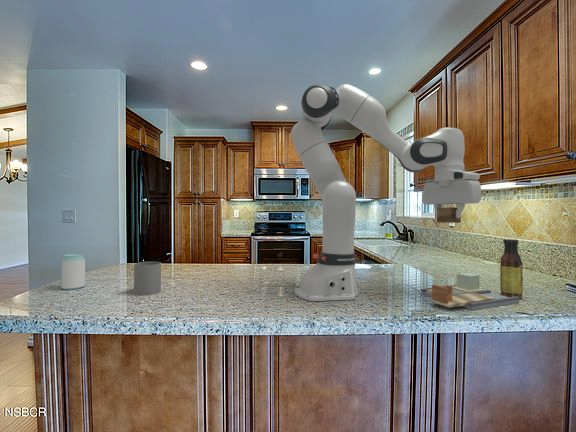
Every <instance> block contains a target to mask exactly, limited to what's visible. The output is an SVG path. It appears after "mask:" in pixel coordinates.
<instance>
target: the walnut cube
mask: <svg viewBox="0 0 576 432" xmlns="http://www.w3.org/2000/svg"><path fill="white" fill-rule="evenodd" d="M457 208H458V207H451V206H450V207H449V206H448V207H441V208H437V212H436V222H437V223H448V224H449V223H450V224H451V223H452V224H455V223H456V224H457V223H460V224H461V223H462V220H461V218H462V217H461V218H454V217H453V212H456V210H457Z"/></svg>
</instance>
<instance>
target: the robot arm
mask: <svg viewBox="0 0 576 432" xmlns="http://www.w3.org/2000/svg"><path fill="white" fill-rule="evenodd" d="M301 97H302V98H301V102H300V103H301V111H302V112H301V113H302V119H301V120H300V121H298V122H297V123H295V124H294V125H293V126H292V129H290V130H291V131H290V137H291V140H292V144H293V146H294V149H295V151H296V153H297V156H298V157H299V159H300V161H301V163H302V165H303V167H304V168H305V171H306V173H307V174H308V176H309V178H310V181H311V182H312V183H313V185H314V187H315V189H316V191H317V192H318V194H319V197H320V198H321V201H322V251H321V252H320V254H319V253H315V252H314V253H313V255H312V258H313V259H315V260H317V263H316V264H315V265H313V266H311V268H309V270H308V271H306V272H305V273H304V274H302V278H301V280H300V286H299V287H296V288H294V290H293V291H294V292H293V293H294V295H295V296H297V297H298V298H300V299H303V300H305V301H309V302H325V301H326V302H327V301H346V300H347V301H348V300H349V301H352V300H355V299H356V297H357V296H358V295H359V290H358V287H357V282H356V276H355V266H356V253H355V228H356V226H355V225H356V209H357V207H356V206H357V204H356V203H357V194H356V190H355V188H354V187H353V185H351V184H350V183H349V182H348V181H347V180H346V177H345V175H344V173H343V171H342V169H341V167H340V165H339V162H338V160H337V158H336V156H335V155H334V153H333V151H332V149H331V147H330V145H329V144H328V142H327V140H326V138H325V137H324V135H323V130H324V129H325V128H326V127H327V126H328V125H329V124H330V122H331V120H332V119H333V117H339V118H342V119H344V120H345V121H347V122H348V123H350V124H351V125H352V126H354V127H355V128H356V129H358V130H360V131H362V132H363V133H365V134H366V135H367V136H369V137H370V138H372V139H374V140H375V141H376V142H377V143H378V144H380V145H381V146H382V147H383V148H385V149H386V150H387V151H389V152H390V153H391V154H392V155H394V156H395V157H396V158H397V160H398V161H399V163H400V165H401V167H402V168H403V169H404V170H406V171H407V172H409V173H419V172H421V171H423V170H424V169H426V168H427V167H429V166H433V167H434V178H432V179H431V178H428V179H427V180H426V181H425V182H424V183H423V188H422V195H421V203H422V204H423V205H427V206H428V205H429V206H430V205H431V206H432V205H433V208H434V211H435V212H436V213H437V208H443V205H456V207H455V208H457V210H456V212H453V217H454V218H462V212H463V211H464V209H465V206H466V204H479V203H480V202H481V201H482V188H481V187H482V186H481V183H480V181H478V180H480V178H481V175H480V174H479V173H478V172H472V171H469V170H465V167H466V166H465V163H464V157H465V153H466V151H465V147H466V145H465V143H466V142H465V136H464V133H463V131H462V130H461V129H459V128H457V127H452V126H448V127H441V128H439V129H437V130H436V131H435V132H434V133H431V134H429V135H427V136H424V137H420V138H417V139H416V140H414V141H413V142H412V143H410V142H409V141H407V140H406V139H404V138H403V137H401V136H400V135H399V134H398V133H397V132H396V131H394V130H393V129H392V128H391V127H390V125H389V122H388V119H387V113H386V109H385V107H384V106H383V105H382V104H381V102H379V101H378V99H376V98H375V97H373V96H371V95H370V94H369V93H367V92H365V91H364V90H362V89H361V88H358V87H356V86H354V85H351V84H348V83H343V84H341V85H339V86H338V87H337V88H335V87H334V86H326V85H322V84H314V85H311V86H309V87H307V89H306V90H304V92H303V95H302V96H301Z"/></svg>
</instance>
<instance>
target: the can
mask: <svg viewBox="0 0 576 432" xmlns="http://www.w3.org/2000/svg"><path fill="white" fill-rule="evenodd" d="M84 286H86V258H85V257H84V254H83V253H70V254H68V253H67V254H64V255H63V257H62V259H61V260H60V288H61V289H63V290H65V291H73V290H74V291H75V290H78V289H80V290H81V289H82V288H83V287H84Z"/></svg>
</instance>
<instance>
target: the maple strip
mask: <svg viewBox="0 0 576 432" xmlns="http://www.w3.org/2000/svg"><path fill="white" fill-rule="evenodd" d="M431 288H432V297H429V302H431V303H435V304H438V305H441V306H444V307H446V308H455V307H456V308H457V307H460V306H463V305H469V303H474V302H481V301H488V300H495V298H493V297H489V296H485V295H481V294H477V293H467V294H459V295H452V293H453V286H452V285H450V284H447V285H437V284H431Z"/></svg>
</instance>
